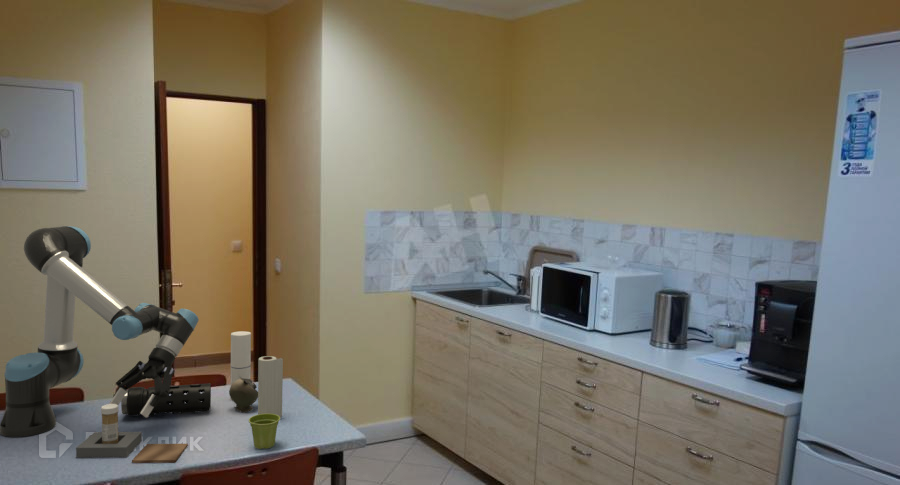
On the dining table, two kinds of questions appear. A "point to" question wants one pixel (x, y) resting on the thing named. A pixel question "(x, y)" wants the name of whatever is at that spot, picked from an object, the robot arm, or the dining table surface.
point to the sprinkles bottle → (109, 424)
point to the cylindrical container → (240, 355)
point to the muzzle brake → (168, 400)
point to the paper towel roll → (270, 385)
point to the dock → (108, 445)
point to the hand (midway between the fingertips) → (127, 412)
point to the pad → (160, 453)
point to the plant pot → (264, 430)
